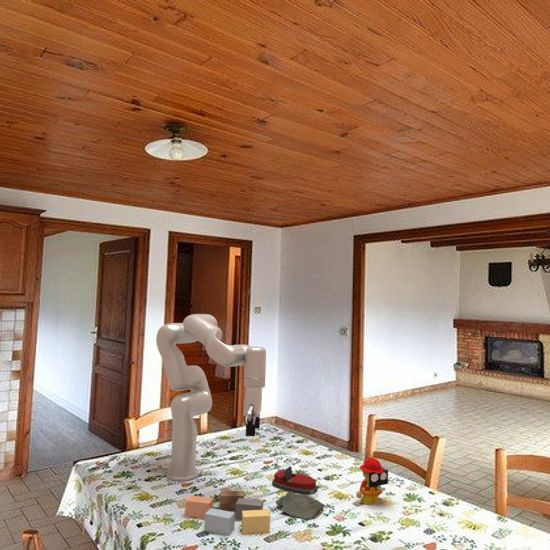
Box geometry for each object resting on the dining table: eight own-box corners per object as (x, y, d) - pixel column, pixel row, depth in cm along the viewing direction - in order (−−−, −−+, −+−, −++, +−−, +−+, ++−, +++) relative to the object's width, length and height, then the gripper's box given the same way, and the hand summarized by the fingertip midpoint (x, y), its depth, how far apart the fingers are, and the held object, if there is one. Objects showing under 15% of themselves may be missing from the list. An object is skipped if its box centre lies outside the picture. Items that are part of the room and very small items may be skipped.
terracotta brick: (184, 517, 141) (185, 500, 141) (189, 511, 145) (189, 495, 145) (208, 520, 140) (209, 503, 140) (212, 514, 143) (213, 498, 144)
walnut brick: (219, 511, 145) (220, 495, 146) (220, 506, 149) (220, 490, 150) (244, 511, 146) (244, 495, 146) (243, 506, 150) (244, 490, 150)
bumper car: (309, 498, 158) (310, 469, 159) (261, 485, 168) (262, 457, 169) (321, 488, 166) (321, 461, 167) (275, 477, 177) (275, 451, 177)
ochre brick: (242, 534, 131) (243, 517, 132) (241, 527, 135) (242, 510, 136) (269, 532, 133) (270, 515, 133) (267, 526, 137) (267, 509, 137)
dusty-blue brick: (204, 531, 133) (204, 513, 133) (210, 525, 136) (210, 508, 137) (228, 536, 130) (229, 518, 131) (234, 529, 134) (234, 512, 134)
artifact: (269, 512, 147) (310, 525, 139) (269, 500, 147) (310, 512, 139) (290, 496, 159) (328, 507, 151) (290, 485, 159) (328, 495, 151)
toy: (366, 510, 149) (367, 464, 150) (350, 499, 157) (351, 456, 158) (392, 504, 154) (393, 460, 155) (375, 494, 162) (376, 452, 163)
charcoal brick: (235, 519, 140) (235, 503, 140) (238, 514, 144) (238, 498, 144) (260, 522, 139) (260, 506, 139) (262, 516, 143) (263, 500, 143)
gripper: (248, 377, 166) (246, 424, 165) (239, 386, 149) (237, 438, 147) (268, 378, 165) (266, 426, 164) (261, 387, 148) (259, 439, 147)
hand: (252, 431), depth 156 cm, fingers open, 9 cm apart
